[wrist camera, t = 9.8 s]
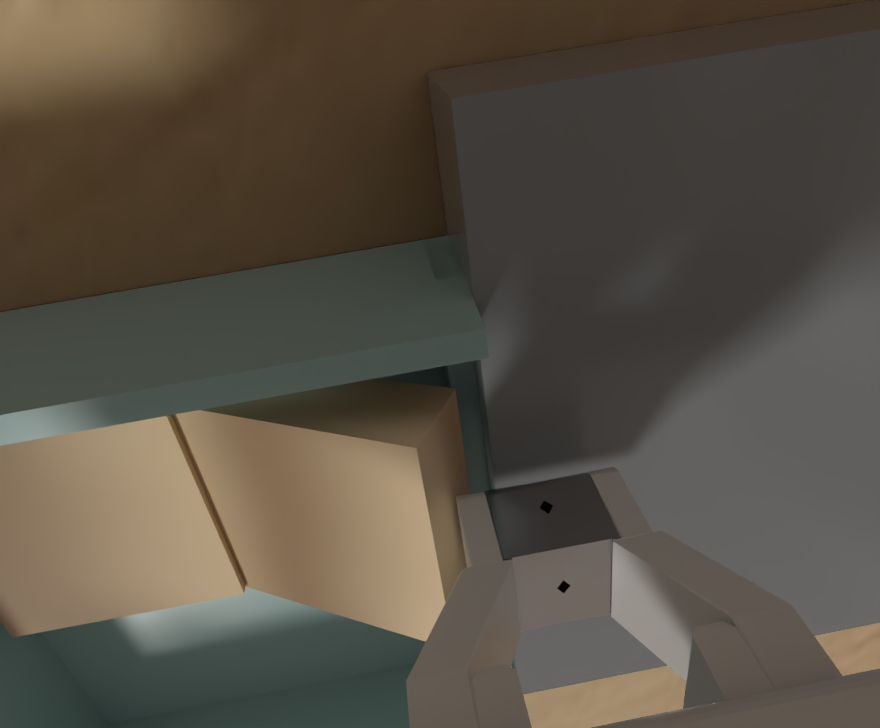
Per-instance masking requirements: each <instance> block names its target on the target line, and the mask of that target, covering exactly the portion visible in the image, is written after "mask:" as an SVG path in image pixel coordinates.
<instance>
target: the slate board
mask: <svg viewBox="0 0 880 728" xmlns="http://www.w3.org/2000/svg"><path fill="white" fill-rule="evenodd" d="M427 79H428V87H429V95H430V102H431V110H432V118H433V125H434V133H435V141H436V149H437V156H438V164H439V172H440V179H441V187H442V195H443V202H444V210H445V218H446V226H447V233H448V237H449V240H450V242H451V245H452V247H453V250H454V252H455V255H456V257H457V259H458V262H459V264H460V267H461V269H462V272H463V274H464V277H465V279H466V282H467V284H468V287H469V289H470V291H471V294H472V296H473V299H474V301H475V304H476V306H477V309H478V311H479V314H480V316H481V319H482V321H483V323H484V326H485V328H486V337H487V346H488V356H489V358H486V359H481V360H475V361H474V364H475V373H476V381H477V389H478V398H479V406H480V414H481V423H482V431H483V439H484V448H485V456H486V464H487V473H488V481H489V489H490V490H493V489H499V488H505V487H512V486H518V485H524V484H530V483H535V482H540V481H545V480H550V479H555V478H560V477H565V476H570V475H575V474H581V473H587V472H590V471H595V470H599V469H604V468H609V467H615V468H616V469H618V470H619V472H620V474H621V476H622V478H623V479H624V481H625V483H626V485H627V486H628V488H629V490H630V492H631V493H632V495H633V497H634V499H635V500H636V502H637V504H638V506H639V508H640V509H641V511H642V513H643V515H644V516H645V518H646V520H647V522H648V523H649V525H650V527H651V529H652V530H653V532H657V531H663V532H665V533H667V534H668V535H670V536H672V537H674V538H675V539H677V540H679V541H681V542H682V543H684V544H686V545H688V546H689V547H691V548H693V549H695V550H696V551H698V552H700V553H701V554H703V555H705V556H707V557H708V558H710V559H712V560H714V561H715V562H717V563H719V564H721V565H722V566H724V567H726V568H728V569H729V570H731V571H733V572H735V573H736V574H738V575H740V576H742V577H743V578H745V579H747V580H748V581H750V582H752V583H754V584H755V585H757V586H759V587H761V588H762V589H764V590H766V591H768V592H769V593H771V594H773V595H775V596H776V597H778V598H780V599H782V600H783V601H785V602H787V603H789V604H790V605H792V606H793V607H794V609H795V610H796V612H797V613H798V614H799V616H800V617H801V619H802V620H803V621H804V623H805V624H806V626H807V627H808V628H809V630H810V631H811V633H812V634H813V635H814V636H815V635H820V634H825V633H830V632H835V631H840V630H845V629H850V628H855V627H860V626H864V625H869V624H874V623H879V622H880V0H872V1H866V2H859V3H853V4H847V5H841V6H834V7H828V8H822V9H816V10H809V11H803V12H797V13H791V14H785V15H778V16H772V17H766V18H760V19H753V20H747V21H741V22H735V23H728V24H722V25H716V26H710V27H703V28H697V29H691V30H685V31H678V32H672V33H666V34H660V35H653V36H647V37H641V38H635V39H628V40H622V41H616V42H610V43H603V44H597V45H591V46H585V47H578V48H572V49H566V50H560V51H554V52H547V53H541V54H535V55H529V56H522V57H516V58H510V59H504V60H497V61H491V62H485V63H479V64H472V65H466V66H460V67H454V68H447V69H441V70H435V71H429V72H427ZM511 666H512V668H513V669H515V670H517V674H518V677H519V681H520V685H521V689H522V693H523V694H528V693H533V692H538V691H543V690H548V689H553V688H558V687H563V686H568V685H572V684H577V683H582V682H587V681H592V680H597V679H602V678H607V677H612V676H617V675H622V674H627V673H632V672H637V671H642V670H647V669H652V668H657V667H662V666H666V664H665V663H664V662H663V661H662V660H661V659H659V658H658V657H657V656H656V655H655V654H654V653H653V652H651V651H650V650H649V649H648V648H647V647H646V646H645V645H643V644H642V643H641V642H640V641H639V640H638V639H636V638H635V637H634V636H633V635H632V634H631V633H630V632H628V631H627V630H626V629H625V628H624V627H623V626H621V625H620V624H619V623H618V622H617V621H616V620H615V619H613V618H612V617H611V614H609V615H604V616H598V617H592V618H586V619H580V620H574V621H568V622H563V623H558V624H554V625H549V626H545V627H540V628H536V629H532V630H527V631H523V632H521V637H520V640H519V643H518V646H517V649H516V653H515V656H514V659H513V662H512V665H511Z"/></svg>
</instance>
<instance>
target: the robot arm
mask: <svg viewBox="0 0 880 728" xmlns="http://www.w3.org/2000/svg"><path fill="white" fill-rule="evenodd" d="M456 502H457V508H458V515H459V521H460V527H461V534H462V540H463V546H464V552H465V558H466V564H467V568H464V569H462V571H461V573H460V575H459V577H458V579H457V581H456V583H455V585H454V587H453V589H452V591H451V593H450V595H449V597H448V599H447V601H446V603H445V605H444V607H443V609H442V611H441V613H440V615H439V617H438V619H437V621H436V623H435V625H434V627H433V629H432V631H431V633H430V635H429V636H428V638H427V640H426V642H425V644H424V646H423V648H422V650H421V652H420V654H419V656H418V658H417V660H416V662H415V664H414V666H413V668H412V670H411V672H410V674H409V676H408V678H407V680H406V687H407V700H408V713H409V725H410V728H531V724H530V720H529V716H528V712H527V708H526V704H525V701H524V697H523V693H522V689H521V685H520V681H519V677H518V674H517V670H515V669H513V668H511V665H512V662H513V659H514V656H515V653H516V649H517V646H518V643H519V640H520V637H521V632H523V631H527V630H532V629H536V628H540V627H545V626H549V625H554V624H558V623H563V622H568V621H574V620H580V619H586V618H592V617H598V616H604V615H609V614H611V617H612V618H613V619H615V620H616V621H617V622H618V623H619V624H620V625H621V626H623V627H624V628H625V629H626V630H627V631H628V632H630V633H631V634H632V635H633V636H634V637H635V638H636V639H638V640H639V641H640V642H641V643H642V644H643V645H645V646H646V647H647V648H648V649H649V650H650V651H651V652H653V653H654V654H655V655H656V656H657V657H658V658H659V659H661V660H662V661H663V662H664V663H665V664H666V665H668V666H669V667H670V668H671V669H672V670H673V671H674V672H676V673H677V674H678V675H679V676H680V677H681V678H683V679H684V680H685V681H686V690H685V697H684V705H683V709H680V710H676V711H671V712H666V713H661V714H656V715H651V716H646V717H641V718H636V719H631V720H626V721H621V722H616V723H612V724H607V725H602V726H597V727H592V728H880V669H876V670H871V671H866V672H861V673H856V674H851V675H846V676H842V675H841V673H840V672H839V670H838V669H837V668H836V666H835V665H834V663H833V662H832V661H831V659H830V658H829V656H828V655H827V654H826V652H825V651H824V649H823V648H822V647H821V645H820V644H819V642H818V641H817V640H816V638H815V637H814V635H813V634H812V633H811V631H810V630H809V628H808V627H807V626H806V624H805V623H804V621H803V620H802V619H801V617H800V616H799V614H798V613H797V612H796V610H795V609H794V607H793V606H792V605H790V604H789V603H787V602H785V601H783V600H782V599H780V598H778V597H776V596H775V595H773V594H771V593H769V592H768V591H766V590H764V589H762V588H761V587H759V586H757V585H755V584H754V583H752V582H750V581H748V580H747V579H745V578H743V577H742V576H740V575H738V574H736V573H735V572H733V571H731V570H729V569H728V568H726V567H724V566H722V565H721V564H719V563H717V562H715V561H714V560H712V559H710V558H708V557H707V556H705V555H703V554H701V553H700V552H698V551H696V550H695V549H693V548H691V547H689V546H688V545H686V544H684V543H682V542H681V541H679V540H677V539H675V538H674V537H672V536H670V535H668V534H667V533H665V532H663V531H657V532H653V530H652V529H651V527H650V525H649V523H648V522H647V520H646V518H645V516H644V515H643V513H642V511H641V509H640V508H639V506H638V504H637V502H636V500H635V499H634V497H633V495H632V493H631V492H630V490H629V488H628V486H627V485H626V483H625V481H624V479H623V478H622V476H621V474H620V472H619V470H618V469H616V468H615V467H609V468H604V469H599V470H595V471H590V472H587V473H581V474H575V475H570V476H565V477H560V478H555V479H550V480H545V481H540V482H535V483H530V484H524V485H518V486H512V487H505V488H499V489H493V490H487V491H484V492H479V493H473V494H466V495H460V496H456Z"/></svg>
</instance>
